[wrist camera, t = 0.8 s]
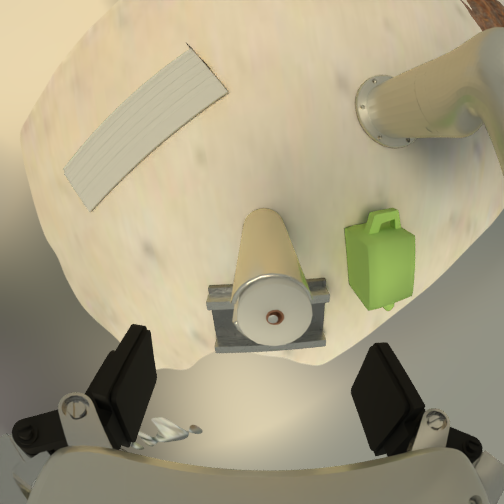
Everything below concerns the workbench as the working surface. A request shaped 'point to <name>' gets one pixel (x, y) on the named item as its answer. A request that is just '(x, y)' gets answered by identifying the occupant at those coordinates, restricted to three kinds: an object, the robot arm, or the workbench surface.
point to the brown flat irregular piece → (486, 13)
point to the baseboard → (142, 126)
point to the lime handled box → (380, 260)
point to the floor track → (237, 342)
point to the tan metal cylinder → (269, 283)
